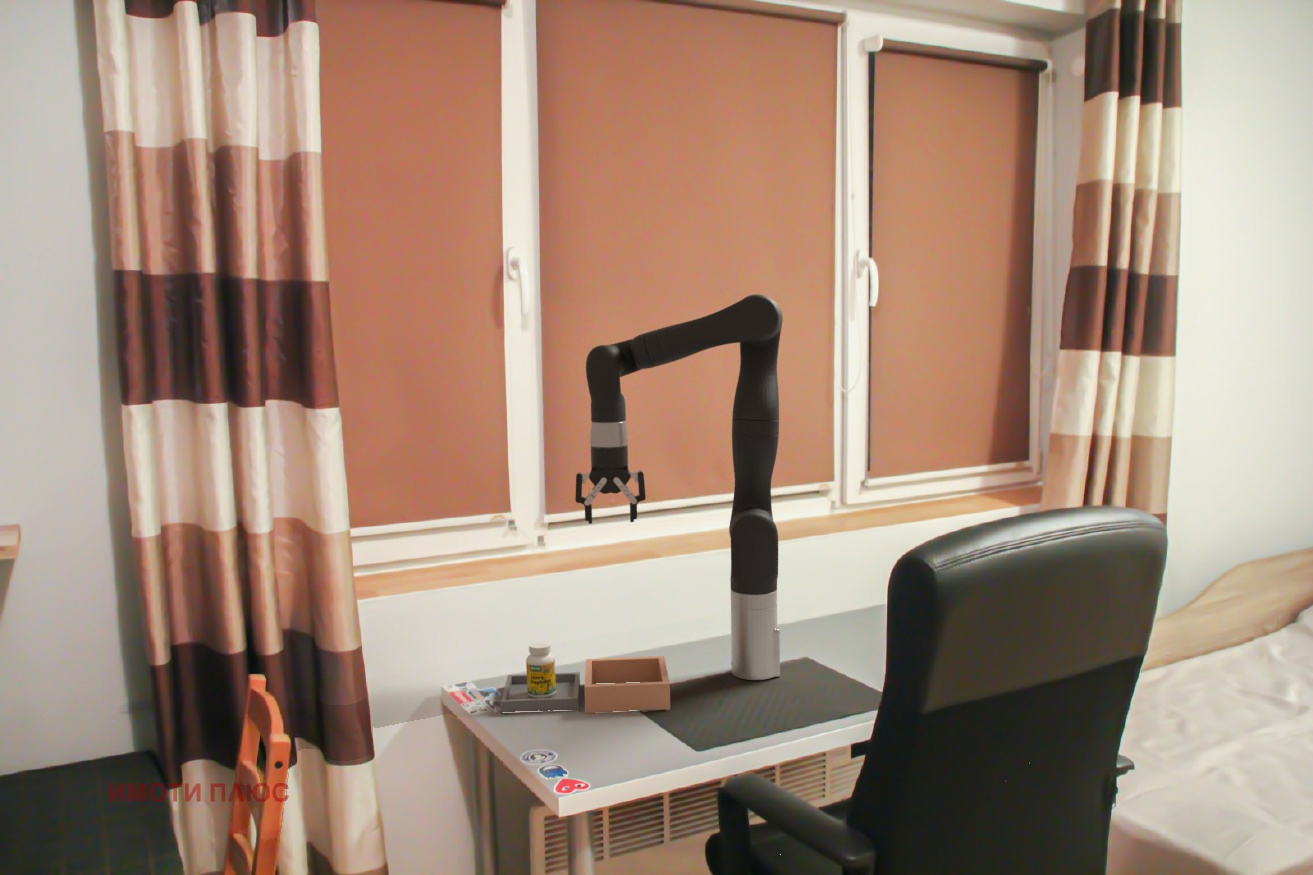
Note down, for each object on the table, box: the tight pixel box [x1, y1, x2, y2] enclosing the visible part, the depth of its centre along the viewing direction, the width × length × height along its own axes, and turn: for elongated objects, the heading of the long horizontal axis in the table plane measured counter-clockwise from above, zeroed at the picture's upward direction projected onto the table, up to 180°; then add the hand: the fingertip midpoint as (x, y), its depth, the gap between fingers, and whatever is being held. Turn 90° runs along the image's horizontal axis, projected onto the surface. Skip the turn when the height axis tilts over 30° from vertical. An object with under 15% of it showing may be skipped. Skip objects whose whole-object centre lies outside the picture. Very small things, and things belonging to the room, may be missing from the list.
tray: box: [500, 671, 581, 713], centre depth 181 cm, size 14×14×2 cm
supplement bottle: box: [525, 641, 556, 698], centre depth 180 cm, size 5×5×10 cm
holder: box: [584, 655, 671, 714], centre depth 181 cm, size 15×15×5 cm
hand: (611, 522), depth 196 cm, fingers open, 8 cm apart
